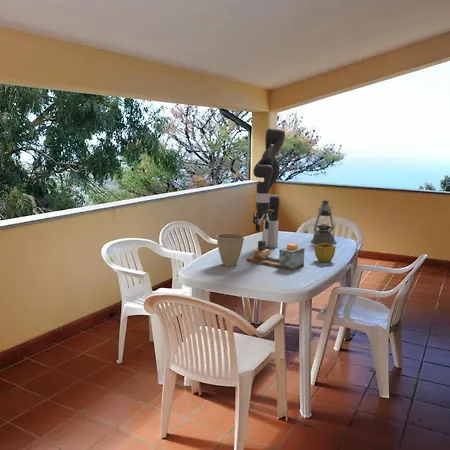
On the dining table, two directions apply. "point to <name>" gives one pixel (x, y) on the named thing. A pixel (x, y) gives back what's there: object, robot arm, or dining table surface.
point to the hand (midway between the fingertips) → (262, 230)
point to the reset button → (292, 246)
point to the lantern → (323, 226)
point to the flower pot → (324, 252)
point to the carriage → (261, 250)
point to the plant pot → (230, 248)
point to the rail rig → (283, 259)
